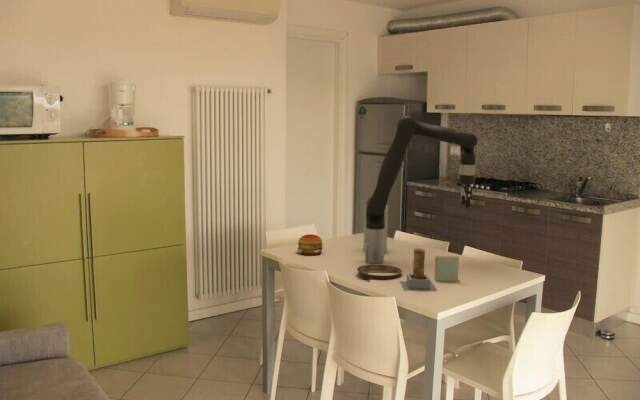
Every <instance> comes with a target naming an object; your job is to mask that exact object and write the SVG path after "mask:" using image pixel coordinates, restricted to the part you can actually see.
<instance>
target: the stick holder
mask: <svg viewBox="0 0 640 400" xmlns="http://www.w3.org/2000/svg"><path fill="white" fill-rule="evenodd" d="M399 283H400V285H401V287H402V290H403V291H404V292H411V291H412V292H438V290H437V288H436V286H435V285H434V283H433V282H432V281H431V279H430V276H429V275H428V274H426V273H424V279H413V273H407V274H406V280H404V281H403V280H400V281H399Z"/></svg>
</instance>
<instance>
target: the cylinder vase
mask: <svg viewBox="0 0 640 400" xmlns="http://www.w3.org/2000/svg"><path fill="white" fill-rule="evenodd" d="M366 205H367V204H365V205H364V210H363V211H364V214H363V215H364V216H363V251H364V253H365V242H366ZM388 213H389V206H388V204H386V208H385V216H384V218H385V234H384V254H385V253H386V252H387V248H388V247H387V246H388V244H387V243H388V221H389V220H388V217H389V215H388Z"/></svg>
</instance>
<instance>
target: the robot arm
mask: <svg viewBox="0 0 640 400" xmlns="http://www.w3.org/2000/svg"><path fill="white" fill-rule="evenodd" d="M414 135H415V136H417V135H418V136H422V137H426V138H430V139H433V140H436V141H440V142H444V143H447V144H455V145H459V146H460V147H459V148H460V165H459V171H458V172H459V175H458V183H459V184H460V190H459V195H460V198H461V199H460V205H462V206H464V207H465V208H467V209H469V208H471V200H472V199H473V186H471V185H474V184H475V181H476V154H475V147H476V146H477V144H478V142H479V141H478V136H477V135H476V134H474V133H472V132H467V131H462V130H461V131H459V130H457V129H454V128H450V127H445V126H441V125H436V124H435V125H434V124H430V123H426V122H423V121H419V120H417V119H415V118H414V117H412V116H410V115H403V116H401V117H400V118H399V119H398V120H397V122H396V131H395V135H394V139H393V142H392V143H391V145H390V147H389V148H388V150H387V152H386V154H385V156H384V159H383V161H382V163H381V165H380V169H379V171H378V172H379V173H378V177H377V182H376V186H375V189H374V190H373V193H372V195H371V196H370V197H369V198H368V199H367V201H366V204H365V205H366V242H365V252H364V261H365V263H369V264H383V263H384V260H385V253H384V234H385V218H384V216H385V208H386V205H388V200H389V198H390V193H391V191H392V189H393V186H394V185H395V182H396V181H397V177H398V175H399V172H400V170H401V168H402V166H403V162H404V159H405V156H406V153H407V148H408V146H409V144H410V142H411V139H412V137H413V136H414Z"/></svg>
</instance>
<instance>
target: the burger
mask: <svg viewBox="0 0 640 400" xmlns="http://www.w3.org/2000/svg"><path fill="white" fill-rule="evenodd" d="M297 244H298V247H297V251H298V253H299V254H303V255H311V256H312V255H319V254H321V253H322V251H323V247H324V246H323V245H324V244H323V240H322V238H321V237H320V236H318V235H315V234H305V235H302V236H301V237H300V238H299V239H298V242H297Z"/></svg>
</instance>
